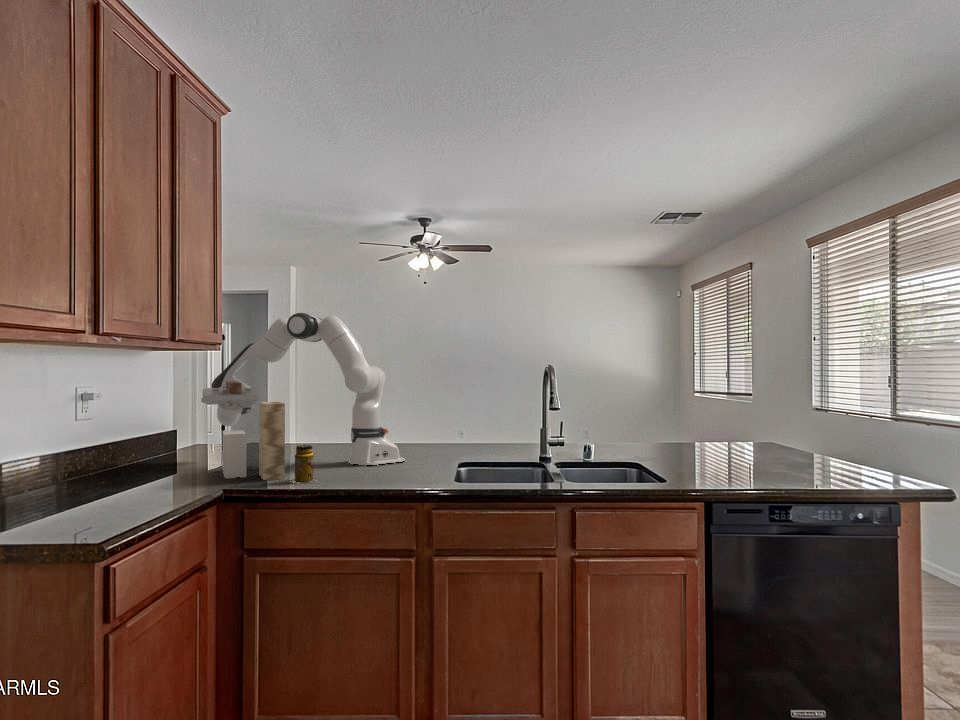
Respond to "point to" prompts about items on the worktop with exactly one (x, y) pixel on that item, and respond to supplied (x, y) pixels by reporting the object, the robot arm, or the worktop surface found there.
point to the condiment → (304, 464)
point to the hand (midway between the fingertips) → (232, 385)
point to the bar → (234, 387)
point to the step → (234, 454)
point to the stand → (272, 440)
